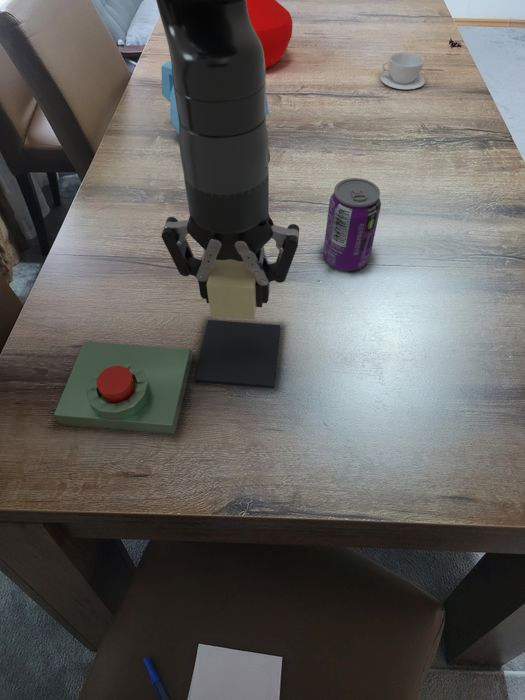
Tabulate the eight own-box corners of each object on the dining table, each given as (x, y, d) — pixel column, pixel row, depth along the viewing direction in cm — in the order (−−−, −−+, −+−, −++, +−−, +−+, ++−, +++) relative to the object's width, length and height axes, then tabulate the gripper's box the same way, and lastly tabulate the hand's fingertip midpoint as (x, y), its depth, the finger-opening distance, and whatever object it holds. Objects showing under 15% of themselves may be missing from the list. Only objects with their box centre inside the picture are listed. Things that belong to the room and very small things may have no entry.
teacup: (424, 73, 114) (429, 51, 111) (424, 93, 108) (430, 70, 105) (380, 70, 115) (384, 48, 112) (379, 89, 110) (383, 67, 106)
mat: (195, 382, 62) (194, 379, 61) (208, 322, 68) (208, 319, 68) (274, 388, 61) (274, 385, 61) (280, 327, 67) (280, 324, 67)
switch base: (59, 424, 58) (47, 407, 55) (88, 351, 65) (79, 332, 62) (175, 434, 57) (169, 417, 54) (192, 359, 64) (188, 340, 61)
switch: (95, 401, 56) (91, 392, 55) (106, 372, 59) (102, 364, 57) (130, 404, 56) (126, 395, 54) (138, 375, 58) (135, 366, 57)
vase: (266, 40, 126) (265, -53, 111) (306, 67, 116) (312, -31, 101) (202, 57, 120) (193, -40, 105) (238, 86, 111) (234, -15, 96)
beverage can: (374, 271, 74) (390, 204, 65) (329, 276, 73) (338, 209, 64) (361, 240, 78) (374, 173, 69) (318, 245, 78) (325, 178, 68)
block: (210, 316, 55) (206, 284, 51) (217, 285, 58) (214, 253, 54) (254, 319, 55) (253, 288, 51) (259, 288, 58) (258, 255, 54)
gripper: (134, 186, 41) (167, 320, 55) (305, 196, 40) (296, 329, 54) (155, 139, 46) (181, 273, 59) (309, 146, 45) (299, 281, 58)
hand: (235, 299), depth 56 cm, fingers closed on block, 5 cm apart
